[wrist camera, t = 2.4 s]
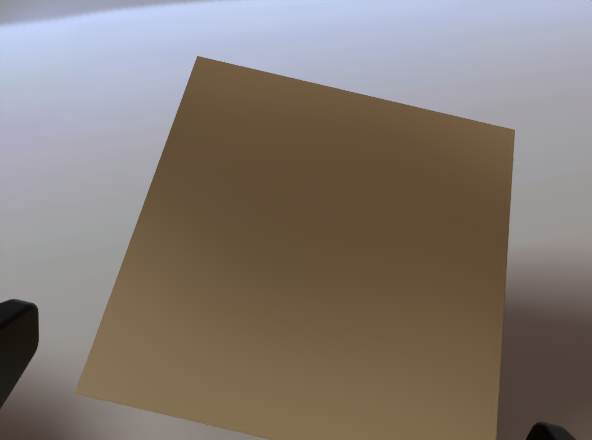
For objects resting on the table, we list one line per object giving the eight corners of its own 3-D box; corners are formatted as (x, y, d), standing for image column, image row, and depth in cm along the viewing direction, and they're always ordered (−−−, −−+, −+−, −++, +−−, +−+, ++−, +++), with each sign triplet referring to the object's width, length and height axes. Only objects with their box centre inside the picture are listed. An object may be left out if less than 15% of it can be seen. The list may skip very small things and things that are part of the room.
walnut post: (326, 431, 17) (492, 492, 5) (199, 401, 17) (74, 394, 5) (349, 303, 18) (514, 130, 7) (233, 276, 18) (197, 56, 7)
